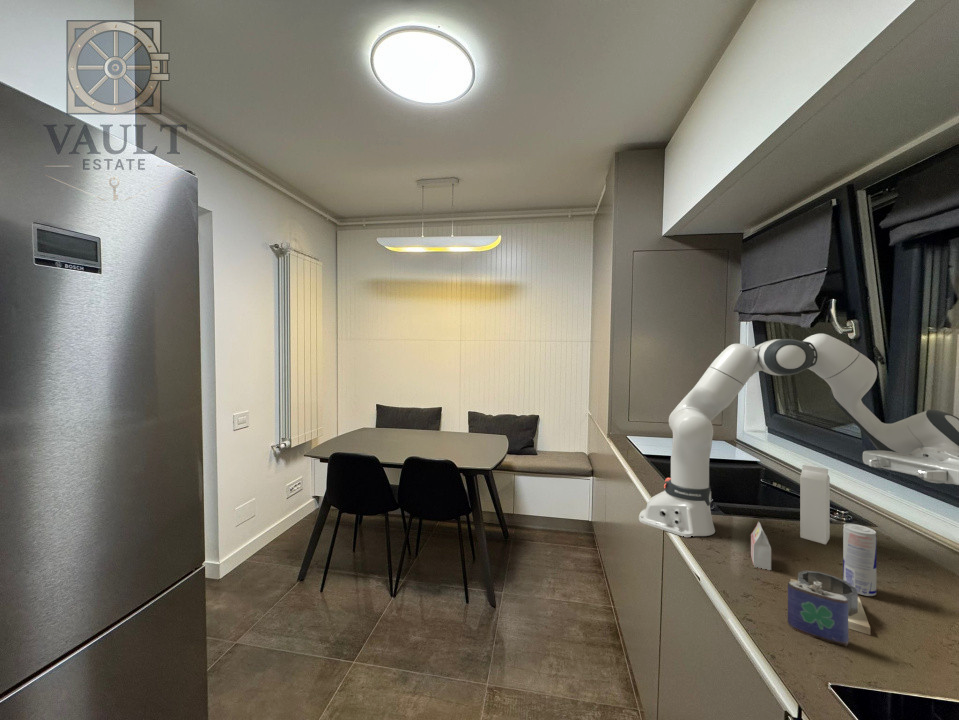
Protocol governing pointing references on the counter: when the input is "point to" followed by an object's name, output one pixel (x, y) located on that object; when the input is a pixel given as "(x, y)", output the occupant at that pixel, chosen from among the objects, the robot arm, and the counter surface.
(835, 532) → the counter surface
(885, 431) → the robot arm
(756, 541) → the small drink carton
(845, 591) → the collar stand
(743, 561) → the counter surface
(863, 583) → the beverage can
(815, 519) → the milk
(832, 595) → the flask
